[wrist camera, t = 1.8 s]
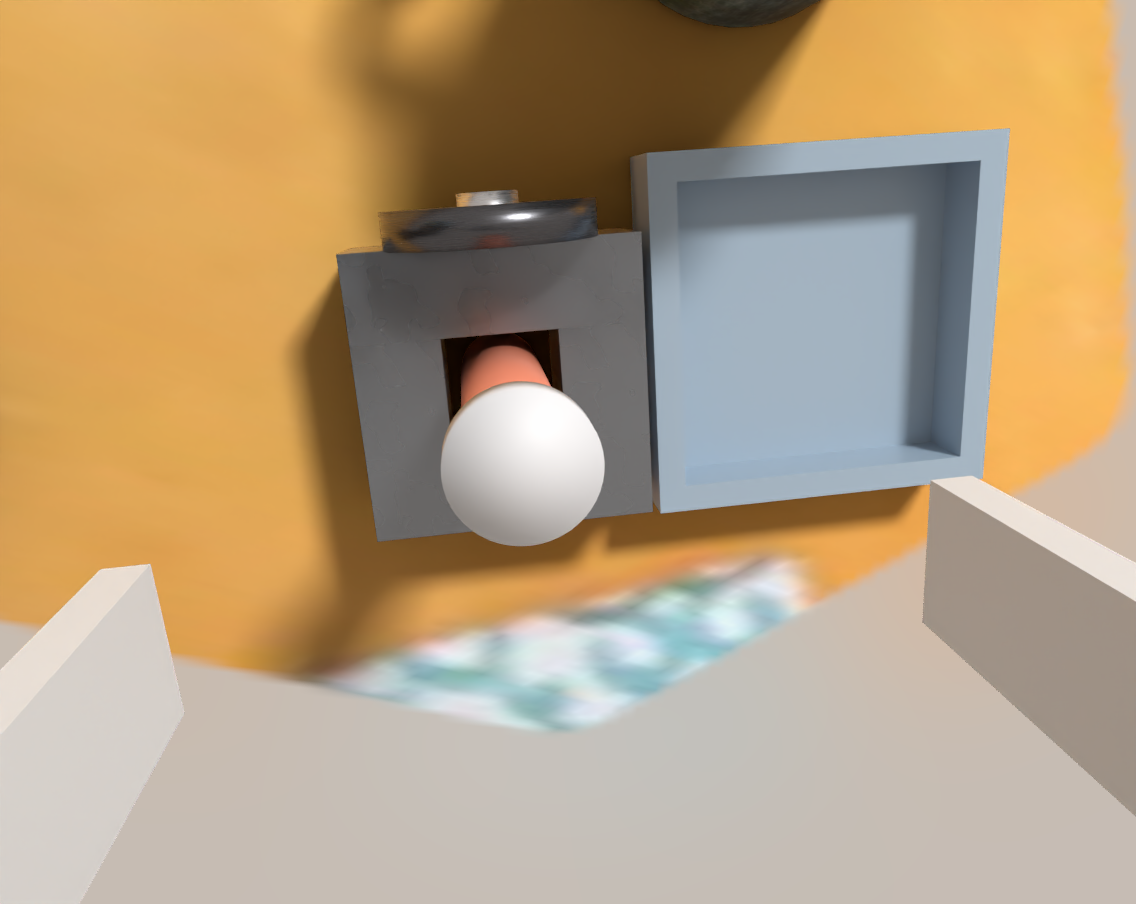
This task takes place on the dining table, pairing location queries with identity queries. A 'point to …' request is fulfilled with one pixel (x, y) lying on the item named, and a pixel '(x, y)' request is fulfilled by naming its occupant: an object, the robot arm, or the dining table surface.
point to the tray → (818, 314)
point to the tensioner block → (485, 307)
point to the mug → (737, 10)
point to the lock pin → (518, 448)
